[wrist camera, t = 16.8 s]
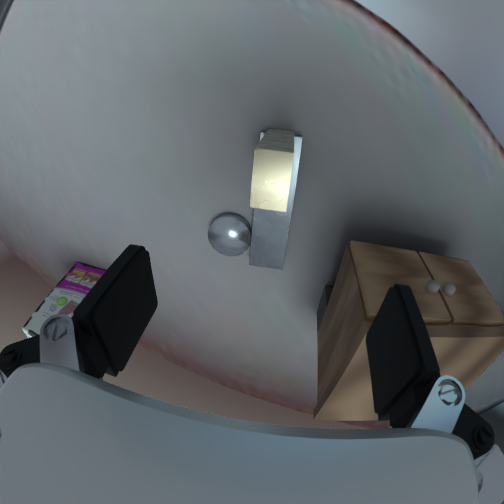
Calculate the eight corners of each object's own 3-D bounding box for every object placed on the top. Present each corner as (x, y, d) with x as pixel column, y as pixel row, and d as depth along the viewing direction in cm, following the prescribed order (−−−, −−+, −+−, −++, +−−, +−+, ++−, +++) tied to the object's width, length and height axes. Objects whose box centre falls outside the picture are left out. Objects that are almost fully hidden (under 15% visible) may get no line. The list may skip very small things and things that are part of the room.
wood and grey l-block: (302, 130, 25) (307, 155, 16) (283, 262, 34) (275, 333, 25) (262, 125, 26) (241, 146, 16) (251, 257, 34) (232, 327, 25)
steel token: (233, 204, 31) (230, 209, 30) (261, 235, 33) (259, 242, 31) (203, 227, 33) (199, 233, 32) (230, 256, 35) (227, 262, 34)
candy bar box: (83, 283, 43) (33, 348, 29) (77, 260, 40) (19, 326, 26) (134, 299, 42) (87, 378, 29) (130, 276, 40) (74, 357, 26)
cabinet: (457, 236, 28) (519, 328, 14) (414, 323, 36) (438, 414, 23) (341, 213, 29) (370, 323, 16) (314, 314, 38) (313, 419, 24)
